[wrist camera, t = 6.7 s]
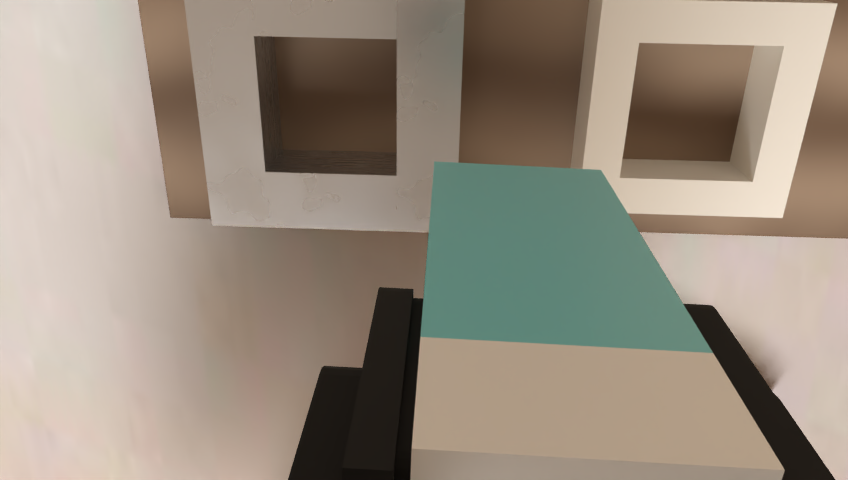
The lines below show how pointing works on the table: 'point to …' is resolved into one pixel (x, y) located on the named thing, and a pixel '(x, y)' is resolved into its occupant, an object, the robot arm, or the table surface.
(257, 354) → the table surface
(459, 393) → the plug
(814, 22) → the cream square frame
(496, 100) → the board
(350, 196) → the port
